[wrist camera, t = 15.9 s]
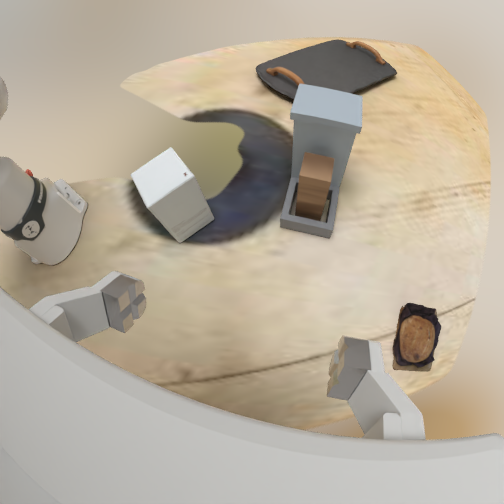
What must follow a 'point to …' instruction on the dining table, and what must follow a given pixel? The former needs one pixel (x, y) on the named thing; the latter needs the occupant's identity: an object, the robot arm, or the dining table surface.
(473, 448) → the robot arm
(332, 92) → the pale blue tower
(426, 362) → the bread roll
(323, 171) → the walnut block
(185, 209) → the supplement box
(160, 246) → the dining table surface
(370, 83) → the serving board
